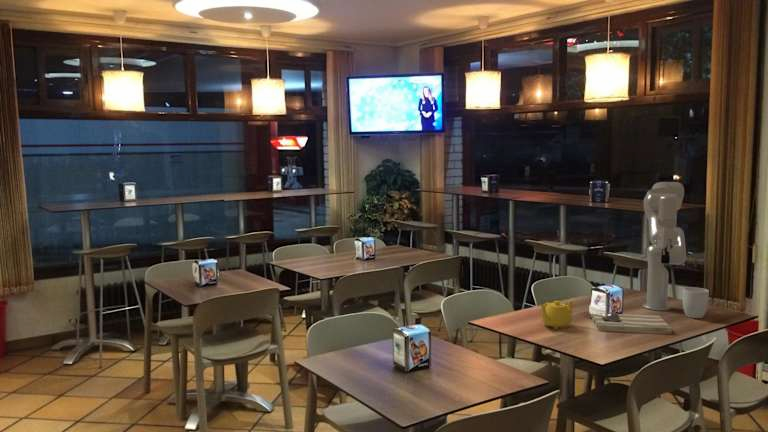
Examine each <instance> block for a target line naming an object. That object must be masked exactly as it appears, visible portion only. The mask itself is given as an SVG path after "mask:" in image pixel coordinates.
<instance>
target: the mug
mask: <svg viewBox="0 0 768 432" xmlns="http://www.w3.org/2000/svg"><path fill="white" fill-rule="evenodd" d="M709 294H710V291H709V290H708V289H707V288H703V287H696V286H687V287H683V289H682V307H683V312H684V314H685V316H686V317H687V316H688V317H687V318H689V317H692V318H691V319H694V318H700V319H702V318H704V317H705V316H706V313H707V310H708V307H709V299H710V297H709V296H710V295H709Z"/></svg>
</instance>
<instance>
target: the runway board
mask: <svg viewBox="0 0 768 432" xmlns="http://www.w3.org/2000/svg"><path fill="white" fill-rule="evenodd" d="M593 313H594V312H591V314H590V315H591V316H590V318H592V319H591V320H592V322H593V323H594V325H595V327H596V329H597V330H598V331H599V332H618V333H620V332H621V333H641V334H642V333H643V334H661V335H672V332H673V328H672V326H670V325H669V324H668V323H667V321H665V320H664V319H663V318H662V317H661V316H660V315H648V314H643V315H642V314H623V313H619V314H618V313H617V314H618V315H619V317H620V321H619V322H606V316H602V315H598V314H593Z"/></svg>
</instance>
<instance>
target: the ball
mask: <svg viewBox="0 0 768 432" xmlns="http://www.w3.org/2000/svg"><path fill="white" fill-rule="evenodd" d="M606 314H607V315H606V322H619V321H620V317H619V315H618V313H616V312H614V311H610V312H608V313H606Z"/></svg>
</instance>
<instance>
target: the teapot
mask: <svg viewBox="0 0 768 432" xmlns="http://www.w3.org/2000/svg"><path fill="white" fill-rule="evenodd" d="M573 301H574V298H571V299H569V301H568V302H567V305H566V304H565V303H562V302H561V301H560V300H554V301H553V302H545V303H544V304H540V307H541V321H542V322H543V323H544V326H545V327H553V329H554V330H560V328H561V327H563V328H564V329H567V328H569V325H570V324H571V323H572V322H573V316H572V312H573V307H572V306H573V305H572V303H573Z"/></svg>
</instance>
